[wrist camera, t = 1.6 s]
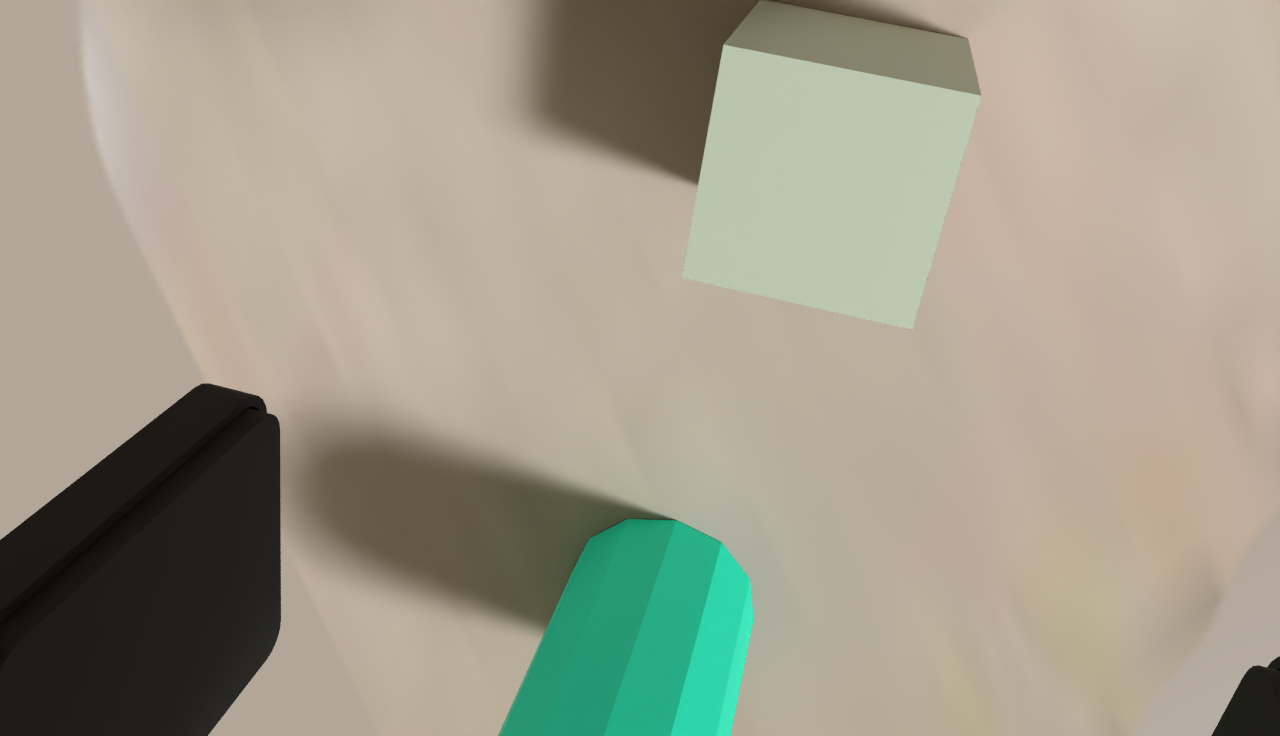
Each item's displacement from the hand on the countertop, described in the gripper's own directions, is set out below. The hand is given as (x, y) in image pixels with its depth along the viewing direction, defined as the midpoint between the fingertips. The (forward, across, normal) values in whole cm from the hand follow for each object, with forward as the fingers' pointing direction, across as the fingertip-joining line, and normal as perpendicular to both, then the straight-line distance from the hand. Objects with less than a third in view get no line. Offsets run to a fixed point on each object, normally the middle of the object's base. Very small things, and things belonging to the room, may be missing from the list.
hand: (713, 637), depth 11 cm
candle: (+20, +2, +16) cm, 25 cm away
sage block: (+20, 0, 0) cm, 20 cm away
